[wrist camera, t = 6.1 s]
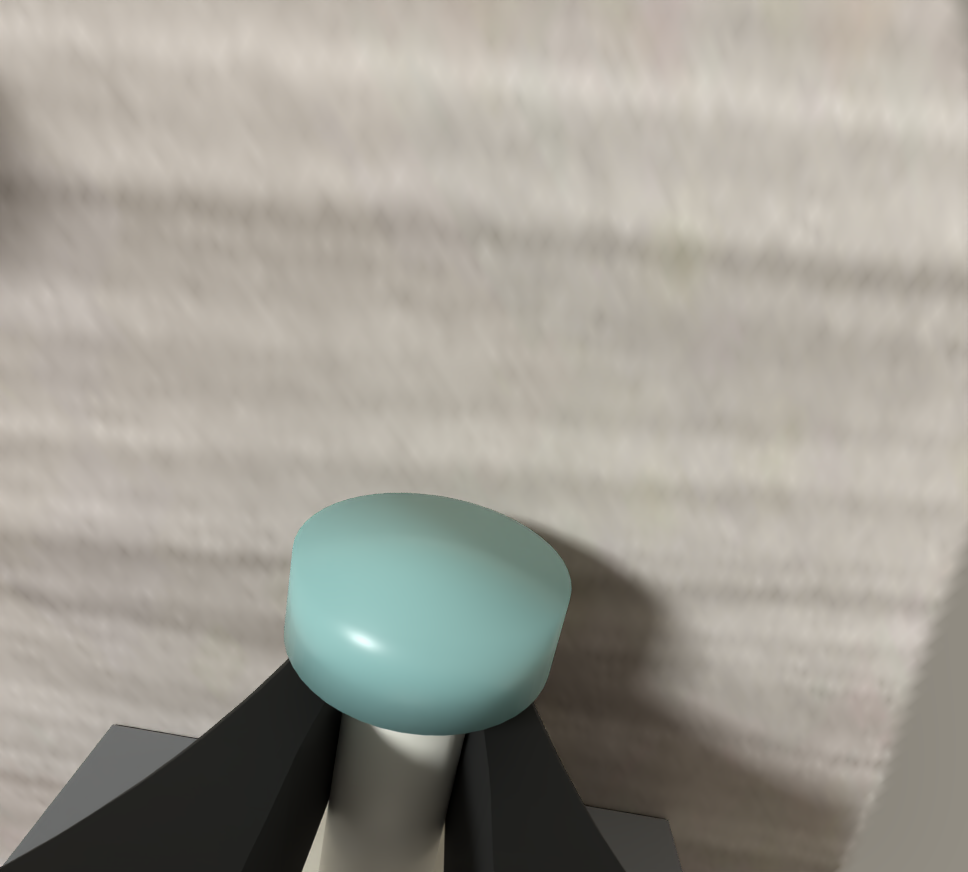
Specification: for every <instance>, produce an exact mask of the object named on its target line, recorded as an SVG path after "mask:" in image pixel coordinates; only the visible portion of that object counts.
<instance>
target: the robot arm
mask: <svg viewBox="0 0 968 872" xmlns="http://www.w3.org/2000/svg"><path fill="white" fill-rule="evenodd" d="M341 717H342V712H341V711H339V710H337V709H336V708H334V707H333V706H331V705H329V704H328V703H326V702H325V701H324V700H322V699H321V698H320V697H319V696H318V695H316V694H315V693H314V692H313V691H312V690H311V689H310V688H309V687H308V686H307V685H306V684H305V683H304V682H303V681H302V680H301V678H300V677H299V675H298V674H297V672H296V671H295V669H294V668H293V666H292V664H291V662H290V659H289V658H288V659H287V660H286V662H285V663H283V664H282V665H281V666H280V667H279V668H278V669H277V670H276V671H275V672H274V673H273V674H272V675H271V676H270V677H269V678H268V679H267V680H266V681H264V682H263V683H262V684H261V685H260V686H259V687H258V688H257V689H256V690H255V691H254V692H253V693H252V694H251V695H249V696H248V697H247V698H246V699H245V700H244V701H243V702H241V703H240V704H239V705H238V706H237V707H235V708H234V709H233V710H232V711H231V712H230V713H228V714H227V715H226V716H225V717H224V718H222V719H221V720H220V721H219V722H218V723H217V724H215V725H214V726H213V727H212V728H211V729H210V730H208V731H207V732H206V733H205V734H203V735H202V736H201V737H200V738H198V739H197V740H196V741H194V742H193V743H192V744H191V745H189V746H188V747H187V748H185V749H184V750H183V751H181V752H180V753H179V754H177V755H176V756H175V757H173V758H172V759H171V760H169V761H168V762H167V763H165V764H164V765H162V766H161V767H160V768H158V769H157V770H156V771H154V772H153V773H151V774H150V775H149V776H147V777H146V778H144V779H143V780H141V781H140V782H139V783H137V784H136V785H134V786H133V787H131V788H130V789H128V790H127V791H125V792H124V793H122V794H120V795H119V796H117V797H116V798H114V799H113V800H111V801H110V802H108V803H107V804H105V805H104V806H102V807H101V808H99V809H98V810H96V811H95V812H93V813H92V814H90V815H89V816H87V817H85V818H84V819H82V820H81V821H79V822H77V823H76V824H74V825H73V826H71V827H69V828H68V829H66V830H64V831H63V832H61V833H59V834H58V835H56V836H55V837H53V838H51V839H49V840H48V841H46V842H44V843H42V844H40V845H39V846H37V847H35V848H33V849H32V850H30V851H28V852H26V853H25V854H23V855H21V856H19V857H17V858H16V859H14V860H12V861H10V862H9V863H7V864H5V865H3V866H2V867H0V872H302V870H303V868H304V865H305V862H306V860H307V857H308V854H309V852H310V849H311V846H312V844H313V841H314V839H315V836H316V833H317V831H318V828H319V825H320V823H321V820H322V817H323V815H324V812H325V809H326V807H327V804H328V801H329V797H330V790H331V783H332V777H333V770H334V763H335V757H336V750H337V743H338V737H339V730H340V723H341ZM444 872H626V871H625V869H624V868H623V866H622V865H621V863H620V862H619V860H618V859H617V857H616V856H615V854H614V853H613V851H612V849H611V848H610V846H609V845H608V843H607V842H606V840H605V839H604V837H603V835H602V834H601V832H600V831H599V829H598V827H597V826H596V824H595V822H594V821H593V819H592V817H591V816H590V814H589V812H588V810H587V809H586V807H585V805H584V803H583V802H582V800H581V798H580V796H579V794H578V793H577V791H576V789H575V787H574V785H573V783H572V782H571V780H570V778H569V776H568V774H567V772H566V770H565V768H564V766H563V764H562V763H561V761H560V759H559V757H558V755H557V753H556V750H555V748H554V746H553V744H552V742H551V740H550V738H549V736H548V734H547V731H546V729H545V727H544V725H543V723H542V721H541V719H540V716H539V714H538V712H537V709H536V707H535V705H534V702H532V703H531V704H530V705H529V706H528V707H527V708H526V709H525V710H523V711H522V712H521V713H519V714H518V715H516V716H515V717H513V718H511V719H509V720H507V721H505V722H503V723H501V724H499V725H496V726H493V727H490V728H487V729H484V730H480V731H475V732H471V733H466V734H465V738H464V742H463V746H462V750H461V755H460V759H459V763H458V767H457V772H456V776H455V780H454V784H453V789H452V793H451V797H450V802H449V806H448V810H447V814H446V819H445V833H444Z"/></svg>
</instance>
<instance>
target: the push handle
mask: <svg viewBox="0 0 968 872" xmlns="http://www.w3.org/2000/svg"><path fill="white" fill-rule="evenodd" d="M571 590H572V588H571V578H570V575H569V572H568V569H567V567H566V565H565V564H564V562H563V560H562V559H561V557H560V556H559V555H558V553H557V552H556V551H555V550H554V549H553V548H552V547H551V546H550V545H549V544H548V543H547V542H546V541H545V540H544V539H543V538H541V537H540V536H539V535H538V534H536V533H535V532H533V531H532V530H530V529H529V528H528V527H526V526H524V525H522V524H521V523H519V522H517V521H515V520H513V519H511V518H509V517H507V516H505V515H503V514H501V513H498V512H496V511H493V510H491V509H488V508H485V507H482V506H479V505H476V504H473V503H469V502H465V501H462V500H457V499H453V498H448V497H442V496H436V495H427V494H417V493H384V494H373V495H366V496H360V497H356V498H351V499H347V500H344V501H341V502H338V503H335V504H333V505H331V506H329V507H326V508H324V509H323V510H321V511H319V512H318V513H316V514H314V515H313V516H312V517H311V518H310V519H308V520H307V521H306V522H305V523H304V525H303V526H302V527H301V528H300V529H299V531H298V533H297V535H296V537H295V540H294V545H293V550H292V560H291V569H290V579H289V588H288V598H287V607H286V617H285V626H284V642H285V647H286V651H287V655H288V657H289V659H290V662H291V664H292V666H293V668H294V669H295V671H296V672H297V674H298V675H299V677H300V678H301V680H302V681H303V682H304V683H305V684H306V685H307V686H308V687H309V688H310V689H311V690H312V691H313V692H314V693H315V694H316V695H318V696H319V697H320V698H321V699H322V700H324V701H325V702H326V703H328V704H329V705H331V706H333V707H334V708H336V709H337V710H339V711H341V712H342V717H341V723H340V730H339V737H338V743H337V750H336V757H335V763H334V770H333V777H332V783H331V790H330V797H329V801H328V804H327V807H326V809H325V812H324V815H323V817H322V820H321V823H320V825H319V828H318V831H317V833H316V836H315V839H314V841H313V844H312V846H311V849H310V852H309V854H308V857H307V860H306V862H305V865H304V868H303V870H302V872H444V833H445V819H446V814H447V810H448V806H449V802H450V797H451V793H452V789H453V784H454V780H455V776H456V772H457V767H458V763H459V759H460V755H461V750H462V746H463V742H464V738H465V734H466V733H471V732H475V731H480V730H484V729H487V728H490V727H493V726H496V725H499V724H501V723H503V722H505V721H507V720H509V719H511V718H513V717H515V716H516V715H518V714H519V713H521V712H522V711H523V710H525V709H526V708H527V707H528V706H529V705H530V704H531V703H532V702H533V701H534V700H535V699H536V698H537V697H538V695H539V694H540V692H541V691H542V689H543V688H544V686H545V683H546V681H547V679H548V676H549V673H550V669H551V665H552V662H553V658H554V655H555V651H556V647H557V644H558V640H559V637H560V633H561V630H562V626H563V622H564V619H565V615H566V612H567V608H568V604H569V601H570V596H571Z"/></svg>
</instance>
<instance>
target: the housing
mask: <svg viewBox="0 0 968 872" xmlns="http://www.w3.org/2000/svg"><path fill="white" fill-rule="evenodd" d="M196 740H197V739H194V738H188V737H182V736H176V735H171V734H165V733H159V732H153V731H147V730H142V729H136V728H130V727H124V726H118V725H112V726H111V727H110V729H109V730H108V731H107V733H106V734H105V735H104V736H103V738H102V739H101V740H100V742H99V743H98V744H97V745H96V747H95V748H94V749H93V751H92V752H91V753H90V754H89V756H88V757H87V758H86V760H85V761H84V762H83V763H82V765H81V766H80V767H79V769H78V770H77V771H76V772H75V774H74V775H73V776H72V778H71V779H70V780H69V781H68V783H67V784H66V785H65V786H64V788H63V789H62V790H61V792H60V793H59V794H58V795H57V797H56V798H55V799H54V801H53V802H52V803H51V804H50V806H49V807H48V808H47V810H46V811H45V812H44V813H43V815H42V816H41V817H40V819H39V820H38V821H37V822H36V824H35V825H34V826H33V828H32V829H31V830H30V831H29V833H28V834H27V835H26V837H25V838H24V839H23V840H22V842H21V843H20V844H19V846H18V847H17V848H16V849H15V851H14V852H13V853H12V854H11V856H10V857H9V858H8V860H7V861H6V862H5V863H4V865H5V864H7V863H9V862H10V861H12V860H14V859H16V858H17V857H19V856H21V855H23V854H25V853H26V852H28V851H30V850H32V849H33V848H35V847H37V846H39V845H40V844H42V843H44V842H46V841H48V840H49V839H51V838H53V837H55V836H56V835H58V834H59V833H61V832H63V831H64V830H66V829H68V828H69V827H71V826H73V825H74V824H76V823H77V822H79V821H81V820H82V819H84V818H85V817H87V816H89V815H90V814H92V813H93V812H95V811H96V810H98V809H99V808H101V807H102V806H104V805H105V804H107V803H108V802H110V801H111V800H113V799H114V798H116V797H117V796H119V795H120V794H122V793H124V792H125V791H127V790H128V789H130V788H131V787H133V786H134V785H136V784H137V783H139V782H140V781H141V780H143V779H144V778H146V777H147V776H149V775H150V774H151V773H153V772H154V771H156V770H157V769H158V768H160V767H161V766H162V765H164V764H165V763H167V762H168V761H169V760H171V759H172V758H173V757H175V756H176V755H177V754H179V753H180V752H181V751H183V750H184V749H185V748H187V747H188V746H189V745H191V744H192V743H193V742H194V741H196ZM585 807H586V809H587V810H588V812H589V814H590V816H591V817H592V819H593V821H594V822H595V824H596V826H597V827H598V829H599V831H600V832H601V834H602V835H603V837H604V839H605V840H606V842H607V843H608V845H609V846H610V848H611V849H612V851H613V853H614V854H615V856H616V857H617V859H618V860H619V862H620V863H621V865H622V866H623V868H624V869H625V871H626V872H682V868H681V865H680V861H679V858H678V854H677V851H676V847H675V843H674V840H673V836H672V833H671V829H670V826H669V822H668V820H665V819H659V818H653V817H647V816H642V815H636V814H630V813H624V812H618V811H612V810H607V809H601V808H595V807H589V806H585Z"/></svg>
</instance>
